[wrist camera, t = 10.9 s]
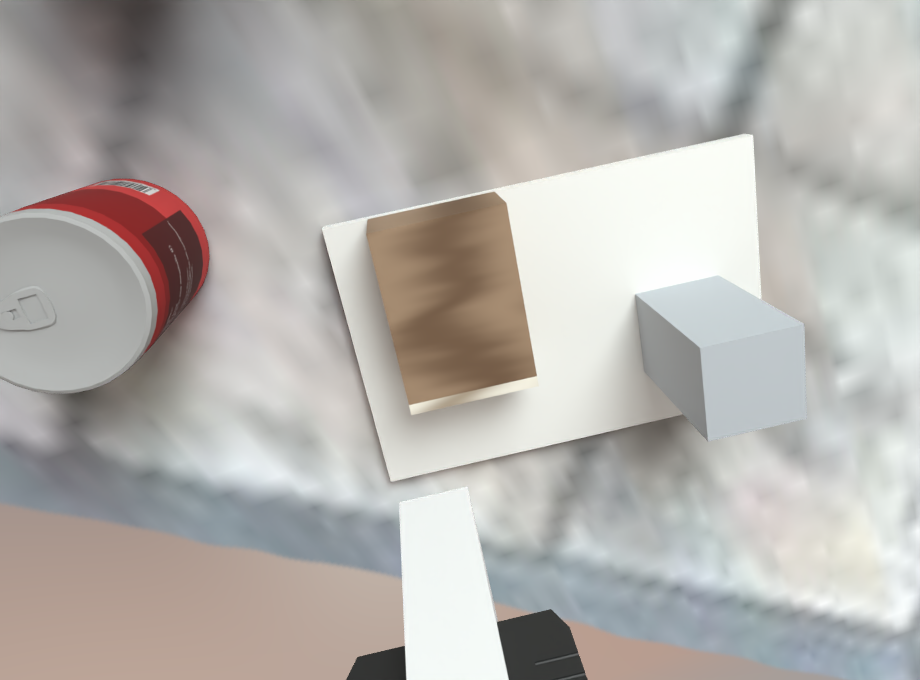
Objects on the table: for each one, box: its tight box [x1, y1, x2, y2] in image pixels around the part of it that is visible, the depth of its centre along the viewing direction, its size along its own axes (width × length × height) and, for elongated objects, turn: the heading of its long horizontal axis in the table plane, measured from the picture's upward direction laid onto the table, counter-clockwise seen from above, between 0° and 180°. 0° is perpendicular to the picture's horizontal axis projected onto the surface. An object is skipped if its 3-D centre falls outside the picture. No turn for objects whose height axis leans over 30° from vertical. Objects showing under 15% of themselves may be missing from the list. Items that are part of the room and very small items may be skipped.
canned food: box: [0, 179, 209, 394], centre depth 33 cm, size 8×8×11 cm
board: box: [322, 134, 761, 482], centre depth 42 cm, size 24×16×1 cm, turn 101°
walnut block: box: [366, 192, 539, 415], centre depth 38 cm, size 7×4×10 cm
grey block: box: [635, 275, 807, 441], centre depth 38 cm, size 5×5×9 cm
